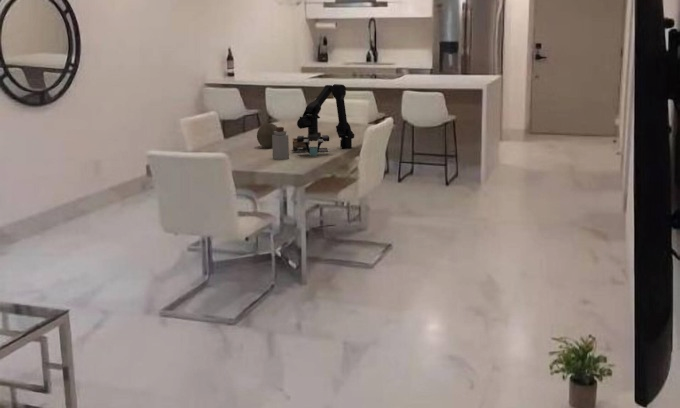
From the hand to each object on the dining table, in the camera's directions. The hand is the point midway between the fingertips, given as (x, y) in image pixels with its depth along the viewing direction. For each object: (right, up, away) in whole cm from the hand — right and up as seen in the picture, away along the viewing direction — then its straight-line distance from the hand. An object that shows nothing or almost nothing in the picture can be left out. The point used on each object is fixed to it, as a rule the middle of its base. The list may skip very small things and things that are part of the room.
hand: (313, 153), depth 442 cm
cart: (-8, +3, +12) cm, 15 cm away
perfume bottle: (-18, -4, -9) cm, 21 cm away
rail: (-2, +2, +13) cm, 13 cm away
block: (0, -1, 0) cm, 1 cm away
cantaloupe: (-29, +5, +27) cm, 40 cm away
